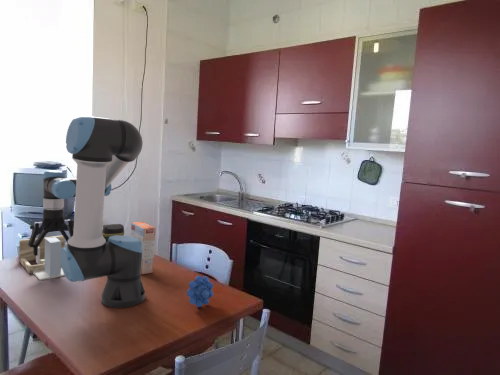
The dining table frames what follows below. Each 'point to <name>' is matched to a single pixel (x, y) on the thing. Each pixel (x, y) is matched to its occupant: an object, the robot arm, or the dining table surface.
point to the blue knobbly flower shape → (200, 291)
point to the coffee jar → (112, 230)
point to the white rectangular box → (52, 256)
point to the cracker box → (145, 244)
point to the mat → (46, 275)
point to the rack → (28, 255)
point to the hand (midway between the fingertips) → (52, 260)
